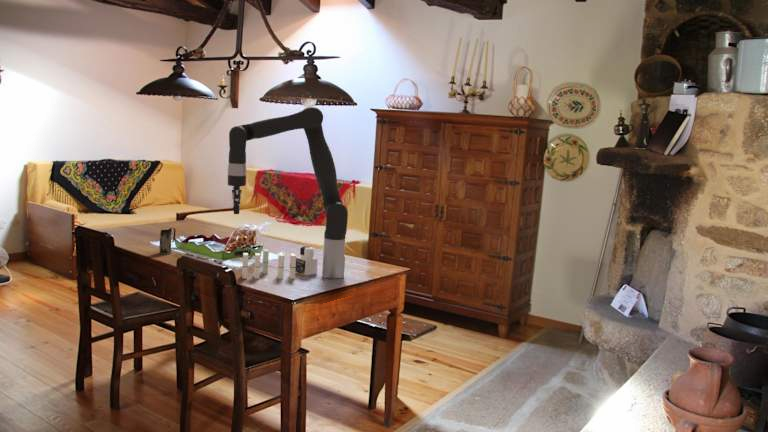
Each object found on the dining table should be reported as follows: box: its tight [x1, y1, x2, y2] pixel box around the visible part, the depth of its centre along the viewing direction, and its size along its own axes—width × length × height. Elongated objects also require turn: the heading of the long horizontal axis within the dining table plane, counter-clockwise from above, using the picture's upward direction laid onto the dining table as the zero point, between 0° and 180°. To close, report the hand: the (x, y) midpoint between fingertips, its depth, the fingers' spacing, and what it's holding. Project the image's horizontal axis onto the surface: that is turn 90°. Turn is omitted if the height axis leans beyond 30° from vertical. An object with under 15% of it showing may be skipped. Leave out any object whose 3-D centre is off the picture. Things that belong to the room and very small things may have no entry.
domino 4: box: [277, 252, 285, 280], centre depth 275 cm, size 2×5×10 cm, turn 14°
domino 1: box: [241, 252, 249, 279], centre depth 272 cm, size 2×5×10 cm, turn 14°
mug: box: [159, 227, 176, 255], centre depth 309 cm, size 8×6×12 cm
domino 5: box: [288, 253, 297, 280], centre depth 277 cm, size 2×5×10 cm, turn 14°
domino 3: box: [261, 248, 270, 275], centre depth 283 cm, size 2×5×10 cm, turn 14°
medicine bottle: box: [295, 246, 319, 276], centre depth 286 cm, size 7×7×12 cm
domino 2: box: [253, 252, 261, 280], centre depth 273 cm, size 2×5×10 cm, turn 14°
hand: (236, 212), depth 270 cm, fingers open, 8 cm apart
